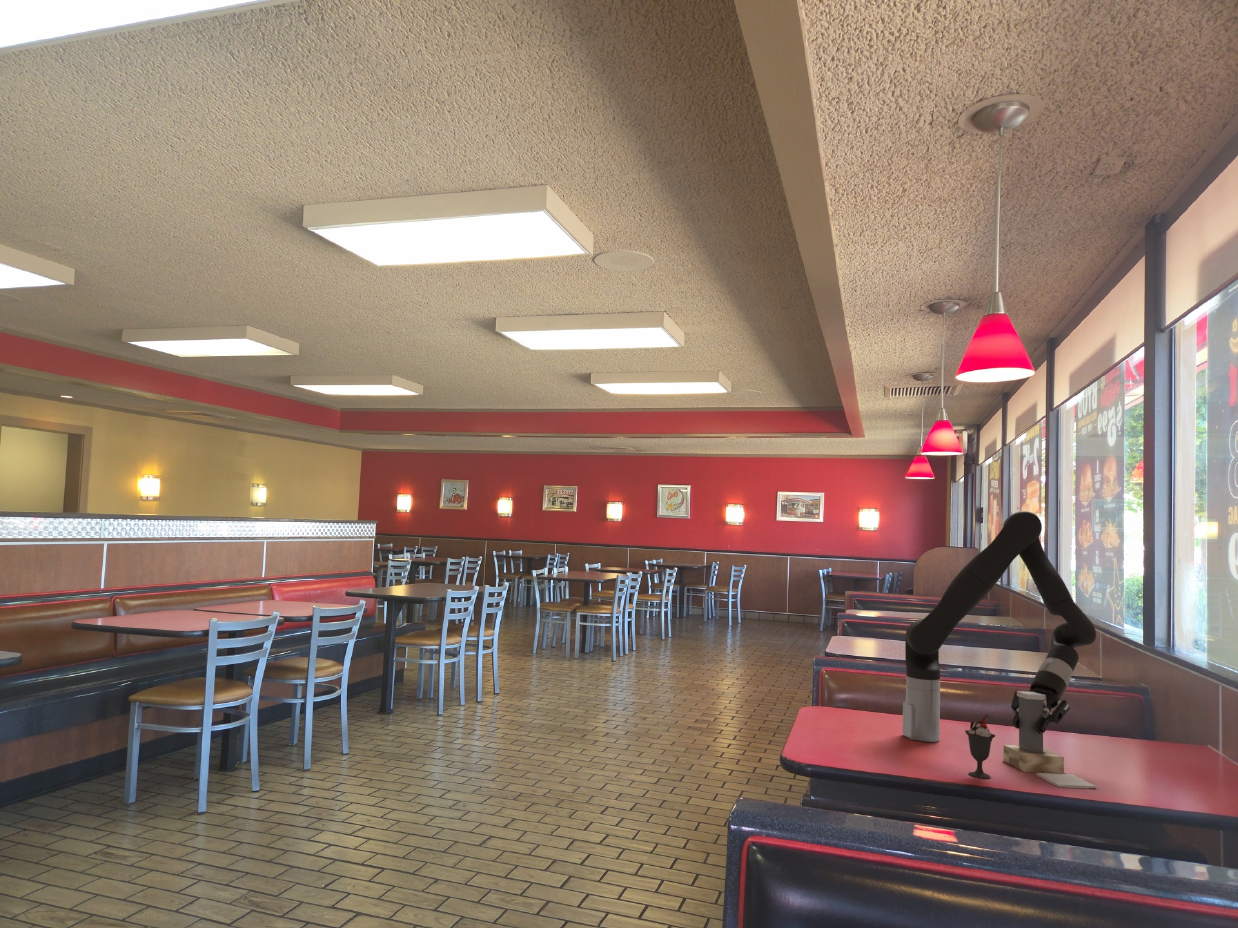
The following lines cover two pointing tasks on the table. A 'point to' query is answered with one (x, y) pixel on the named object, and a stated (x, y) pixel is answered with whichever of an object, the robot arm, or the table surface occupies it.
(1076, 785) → the mat
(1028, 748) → the plug
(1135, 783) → the table surface
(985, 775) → the sundae
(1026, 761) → the square wooden socket block
